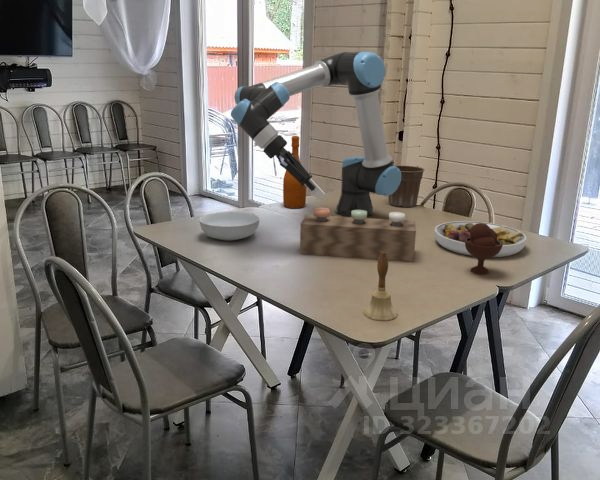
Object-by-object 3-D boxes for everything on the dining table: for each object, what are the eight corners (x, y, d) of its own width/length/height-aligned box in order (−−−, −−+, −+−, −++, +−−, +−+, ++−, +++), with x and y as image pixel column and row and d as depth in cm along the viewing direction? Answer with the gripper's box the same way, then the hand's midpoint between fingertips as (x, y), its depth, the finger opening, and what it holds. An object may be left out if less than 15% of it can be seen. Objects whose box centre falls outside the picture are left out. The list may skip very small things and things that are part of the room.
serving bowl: (252, 227, 213) (251, 209, 211) (266, 243, 194) (266, 224, 192) (196, 231, 207) (195, 212, 205) (204, 248, 188) (204, 228, 186)
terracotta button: (312, 228, 185) (313, 210, 183) (315, 224, 189) (315, 207, 188) (328, 229, 184) (328, 211, 182) (330, 225, 189) (330, 208, 187)
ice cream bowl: (494, 280, 164) (500, 230, 160) (456, 272, 170) (461, 224, 165) (503, 270, 173) (509, 222, 168) (466, 263, 178) (471, 216, 174)
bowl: (452, 229, 216) (454, 209, 214) (534, 244, 200) (537, 222, 197) (419, 248, 193) (421, 226, 190) (509, 267, 176) (513, 243, 174)
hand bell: (359, 317, 139) (363, 255, 134) (368, 304, 146) (371, 245, 141) (393, 323, 136) (398, 260, 131) (400, 310, 143) (405, 249, 138)
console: (300, 253, 184) (300, 223, 181) (305, 242, 195) (306, 214, 192) (413, 261, 178) (415, 231, 176) (412, 250, 190) (415, 221, 187)
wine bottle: (306, 204, 249) (308, 134, 240) (304, 209, 240) (306, 137, 231) (284, 203, 250) (285, 134, 241) (281, 208, 241) (282, 136, 232)
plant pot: (401, 198, 263) (403, 163, 258) (429, 205, 251) (432, 169, 246) (376, 203, 253) (378, 167, 248) (404, 210, 241) (407, 172, 236)
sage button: (350, 231, 183) (350, 213, 181) (351, 227, 187) (352, 209, 186) (365, 232, 182) (366, 214, 180) (366, 228, 187) (367, 210, 185)
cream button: (387, 233, 181) (389, 215, 179) (388, 229, 186) (389, 211, 184) (403, 234, 180) (405, 216, 178) (403, 230, 185) (405, 212, 183)
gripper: (267, 147, 189) (315, 199, 191) (257, 153, 176) (310, 208, 179) (283, 131, 186) (332, 184, 188) (274, 136, 174) (327, 192, 176)
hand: (321, 196), depth 184 cm, fingers closed
